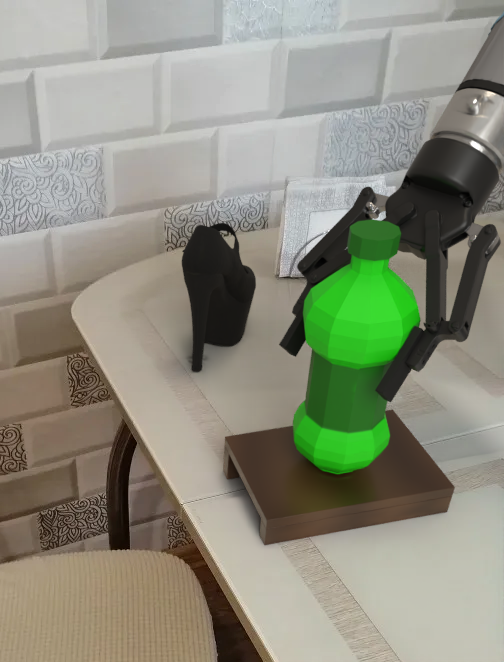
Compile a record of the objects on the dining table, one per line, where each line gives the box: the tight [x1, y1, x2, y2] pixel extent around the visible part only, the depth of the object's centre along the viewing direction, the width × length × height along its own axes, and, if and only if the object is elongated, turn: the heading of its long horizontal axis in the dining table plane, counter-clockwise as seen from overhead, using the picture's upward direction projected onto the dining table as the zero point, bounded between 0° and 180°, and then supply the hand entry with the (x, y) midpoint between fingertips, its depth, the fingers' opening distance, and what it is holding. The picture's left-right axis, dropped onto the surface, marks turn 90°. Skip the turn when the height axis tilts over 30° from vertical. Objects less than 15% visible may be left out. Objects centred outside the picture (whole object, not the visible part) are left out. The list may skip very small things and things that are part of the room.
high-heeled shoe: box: [181, 222, 257, 373], centre depth 106 cm, size 8×19×20 cm, turn 155°
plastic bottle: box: [292, 219, 422, 474], centre depth 76 cm, size 10×10×25 cm
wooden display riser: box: [222, 409, 456, 546], centre depth 86 cm, size 20×14×5 cm
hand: (333, 372), depth 75 cm, fingers closed on plastic bottle, 10 cm apart
